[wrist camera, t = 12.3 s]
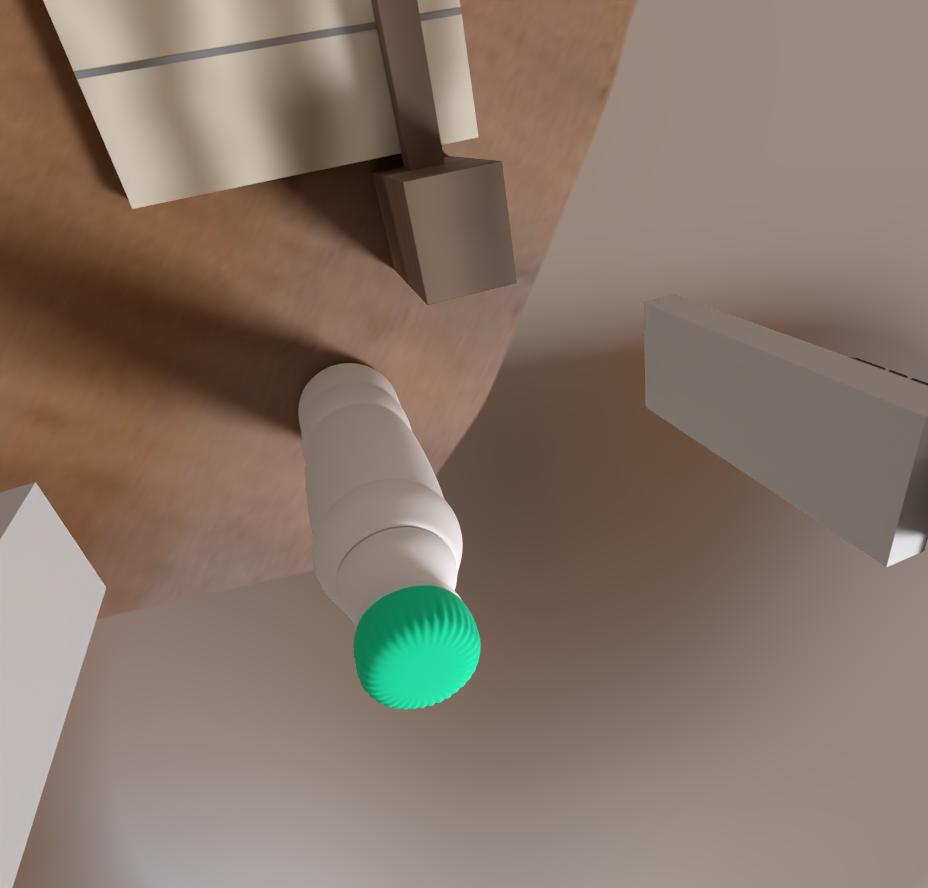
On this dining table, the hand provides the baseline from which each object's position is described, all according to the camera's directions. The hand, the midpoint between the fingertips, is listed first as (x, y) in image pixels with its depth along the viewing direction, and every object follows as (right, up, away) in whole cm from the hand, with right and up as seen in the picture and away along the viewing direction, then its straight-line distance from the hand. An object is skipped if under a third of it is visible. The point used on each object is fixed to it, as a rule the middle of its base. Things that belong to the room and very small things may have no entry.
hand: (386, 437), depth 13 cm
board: (-8, +21, +20) cm, 30 cm away
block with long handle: (-2, +18, +23) cm, 30 cm away
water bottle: (-7, +3, +30) cm, 31 cm away
